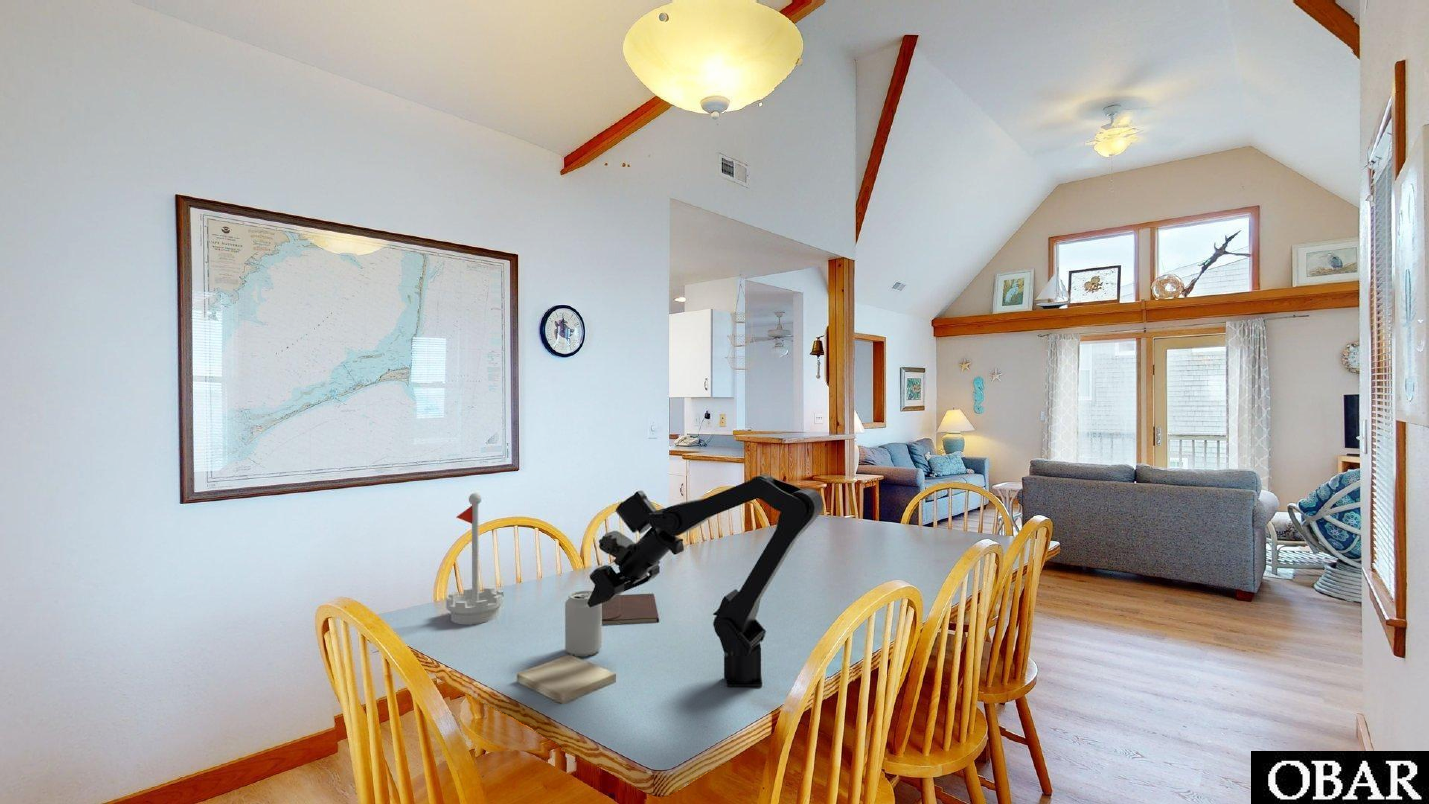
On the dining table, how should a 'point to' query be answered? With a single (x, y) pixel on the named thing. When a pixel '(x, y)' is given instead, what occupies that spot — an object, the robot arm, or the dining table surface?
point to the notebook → (630, 609)
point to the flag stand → (474, 582)
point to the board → (566, 678)
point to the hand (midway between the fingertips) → (601, 599)
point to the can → (582, 625)
